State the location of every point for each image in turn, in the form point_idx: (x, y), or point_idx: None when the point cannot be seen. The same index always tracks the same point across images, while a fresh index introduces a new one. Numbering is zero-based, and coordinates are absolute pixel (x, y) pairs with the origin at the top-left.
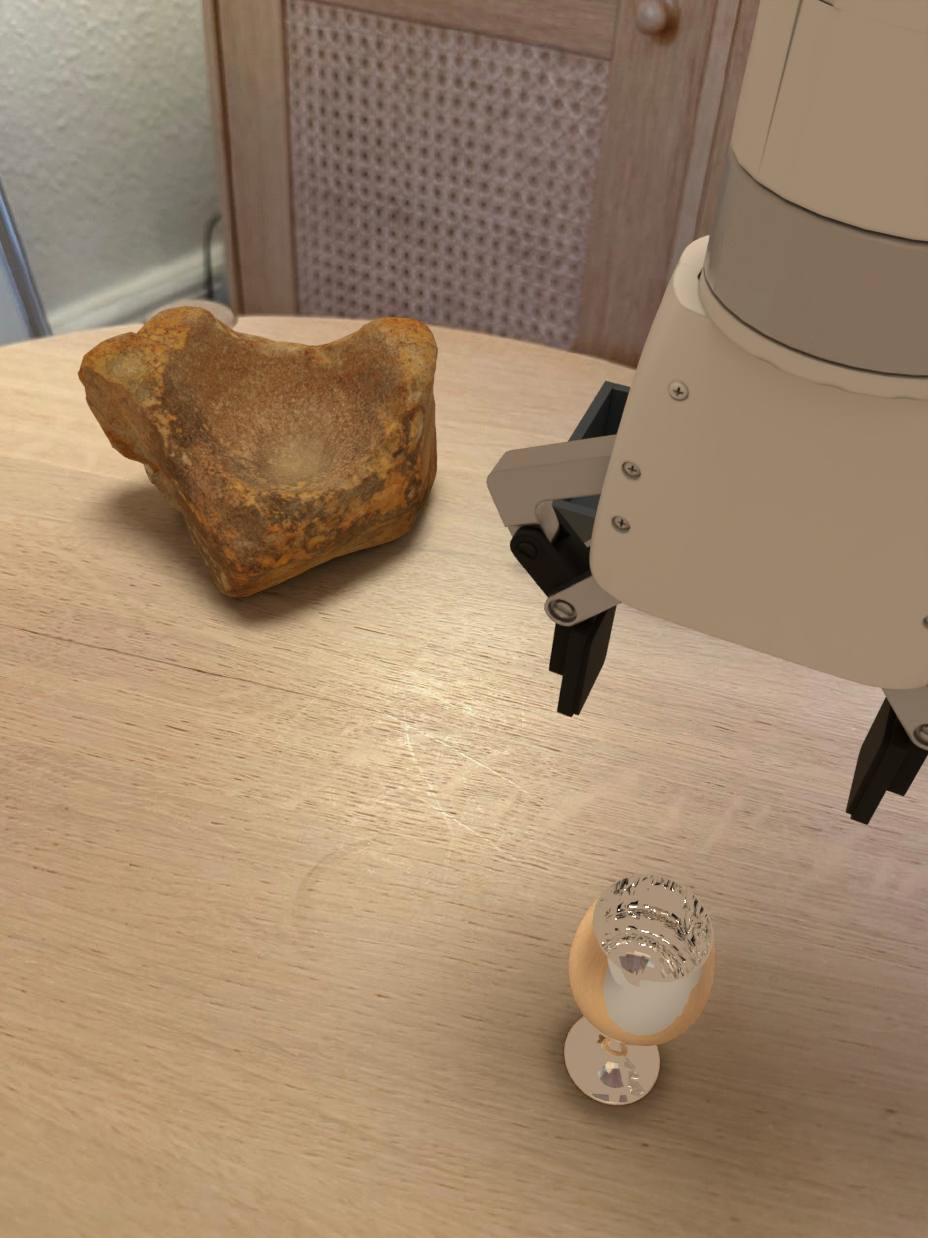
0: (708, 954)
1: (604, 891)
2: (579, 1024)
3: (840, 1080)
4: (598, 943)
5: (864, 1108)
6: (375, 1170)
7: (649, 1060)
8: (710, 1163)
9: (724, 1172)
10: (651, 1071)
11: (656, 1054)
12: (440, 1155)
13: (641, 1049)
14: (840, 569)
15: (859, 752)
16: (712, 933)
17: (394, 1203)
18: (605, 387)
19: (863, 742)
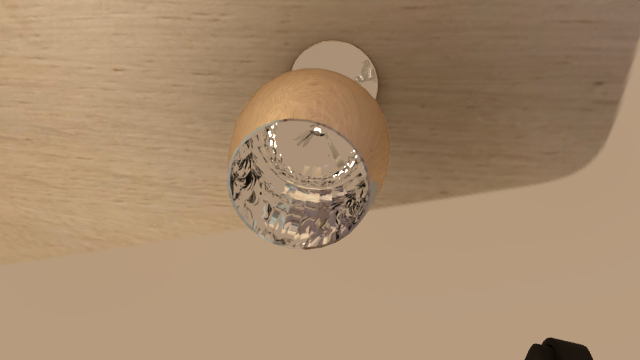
0: (365, 211)
1: (234, 153)
2: (298, 63)
3: (554, 63)
4: (240, 217)
5: (573, 85)
6: (167, 204)
7: (367, 84)
8: (425, 156)
9: (436, 161)
10: (370, 93)
11: (374, 76)
12: (210, 186)
13: (358, 78)
14: None
15: (531, 350)
16: (369, 183)
17: (188, 222)
18: None
19: (540, 355)
